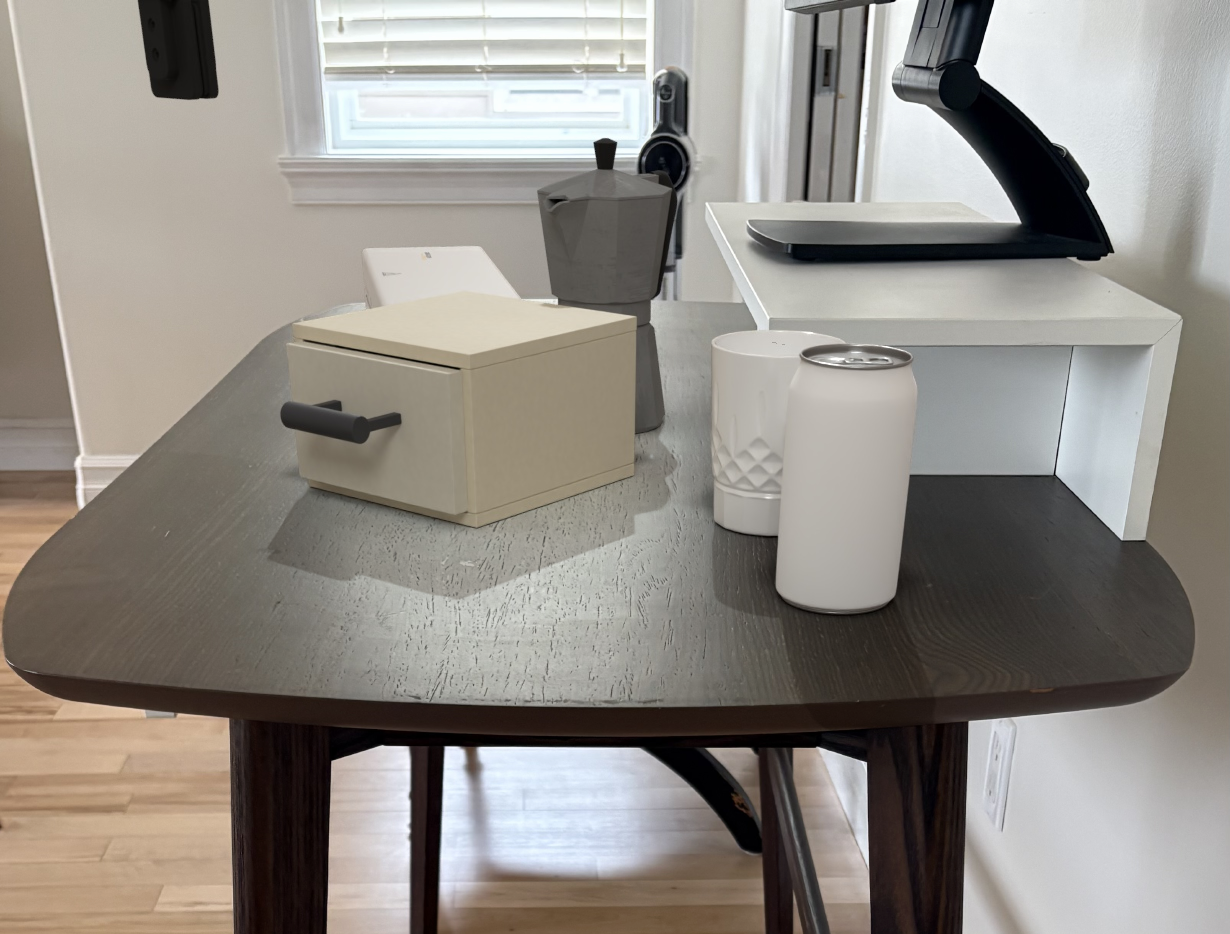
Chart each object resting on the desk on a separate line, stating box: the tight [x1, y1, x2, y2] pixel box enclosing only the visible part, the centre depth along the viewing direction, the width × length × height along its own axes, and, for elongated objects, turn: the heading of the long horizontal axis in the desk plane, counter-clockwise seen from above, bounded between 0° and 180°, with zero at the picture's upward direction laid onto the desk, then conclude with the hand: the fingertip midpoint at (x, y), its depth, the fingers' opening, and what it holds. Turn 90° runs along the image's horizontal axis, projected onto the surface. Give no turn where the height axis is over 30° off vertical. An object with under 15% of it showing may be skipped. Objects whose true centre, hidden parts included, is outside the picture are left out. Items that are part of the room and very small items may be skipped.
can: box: [775, 343, 919, 616], centre depth 81 cm, size 6×6×12 cm
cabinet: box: [291, 291, 637, 528], centre depth 100 cm, size 16×15×10 cm
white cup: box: [710, 329, 849, 537], centre depth 93 cm, size 8×8×10 cm
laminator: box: [361, 245, 522, 310], centre depth 134 cm, size 34×12×6 cm, turn 11°
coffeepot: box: [536, 137, 678, 434], centre depth 112 cm, size 15×9×18 cm, turn 146°
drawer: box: [279, 341, 468, 515], centre depth 98 cm, size 19×13×8 cm
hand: (185, 96), depth 78 cm, fingers closed
